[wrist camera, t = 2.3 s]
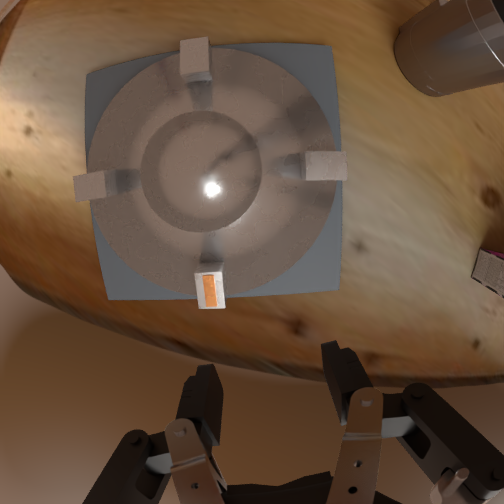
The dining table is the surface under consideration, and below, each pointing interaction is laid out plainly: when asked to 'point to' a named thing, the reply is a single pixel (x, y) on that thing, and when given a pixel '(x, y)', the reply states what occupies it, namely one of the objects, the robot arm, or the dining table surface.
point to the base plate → (330, 239)
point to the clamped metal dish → (211, 172)
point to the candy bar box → (490, 270)
